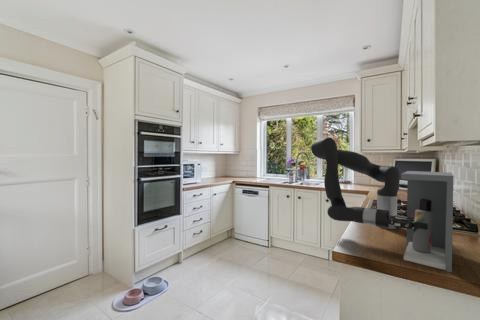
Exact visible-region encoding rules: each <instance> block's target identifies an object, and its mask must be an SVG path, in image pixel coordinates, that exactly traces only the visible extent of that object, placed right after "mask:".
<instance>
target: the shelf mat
mask: <svg viewBox="0 0 480 320" xmlns="http://www.w3.org/2000/svg"><path fill="white" fill-rule="evenodd" d="M412 243H413V242H409V243H408V244H407V246H406V248H405V249H406V250H405V251H404V253H403V261H406V262H407V261H408V262H412V263H416V264H419V265H422V266H427V267H432V268H435V269H439V270H443V271H446V263H445V249H443V248H438V247H433V246H431V252H422V251H418V250H415V249H413V248H412Z"/></svg>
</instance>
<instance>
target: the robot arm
mask: <svg viewBox="0 0 480 320" xmlns="http://www.w3.org/2000/svg"><path fill="white" fill-rule="evenodd" d="M310 151H311V153H312V155H313V156H315V157H316V158H317V159H322V160H325V162H326V169H325V174H324V179H323V182H324V183H323V185H324V190H325V194H326V198H327V199H328V200H329V201H330V204H331V205H330V206H329V207H328V208H327V215H328V217H329V218H331V219H332V220H334V221H337V222H338V221H339V222H353V223H359V224H363V225H367V226H372V227H377V228H382V229H387V230H394V229H406V230H407V229H412V228H420V229H425V230H427V229H428V224H426V223H420V222H414V220H415V219H414V218H410V217H407V215H406V216H405V215H401V214H399V215H398V192H399V190H400V180H401V176H400V175H401V173H400V170H399V168H397V166H393V165H379V164H376V163H373V162H371V161H370V160H369V159H368V157H366V156H365V155H363V154H360V153H358V152H355V151H352V150H345V149H338V145H337V143H336V141H335V139H333V138H332V137H324V138H321V139H319V140H316V141H315V142H313V143H312V144H311V147H310ZM339 165H340V166H341V167H344V168H346V169H348V170H351V171H353V172H356V173H360V174H363V175H366V176H368V177H370V178H371V179H373V180H375V181H377V182H380V183H384V186H383V187H382V188H379V189H377V191H376V208H373V207H363V206H362V207H361V206H350V207H349V206H347V203H346V202H345V200H344V196H343V194H342V188H341V183H340V177H339ZM409 220H411V221H409Z"/></svg>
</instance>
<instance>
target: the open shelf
mask: <svg viewBox="0 0 480 320" xmlns="http://www.w3.org/2000/svg"><path fill="white" fill-rule="evenodd" d="M400 175H401V176H400V180H407V186H406V187H407V188H406V189H407V190H406V192H407V193H406V195H407V196H406V217H410V218H414V219H415V210H419V209H418V207H419V199H429V200H431V201H432V205H431V211H430V212H433V213H434V219H433V231H432V243H431V246H433V247H438V248H443V249H445V263H446V270H445V272H447V273H453V272H452V271H453V270H452V269H453V227H454V225H453V224H454V222H453V221H454V220H453V218H454V214H453V213H454V179H455V178H454V174H453V173H452V172H447V171H442V172H441V171H419V170H415V171H414V170H407V171H405V172H402V173H400ZM409 221H411V220H409ZM413 232H414V228H412V229H406V245H408V243H409V242H413Z"/></svg>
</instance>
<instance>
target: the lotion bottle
mask: <svg viewBox="0 0 480 320" xmlns="http://www.w3.org/2000/svg"><path fill="white" fill-rule="evenodd" d="M431 205H432V201H431V200H429V199H419V207H418V209H419V210H415V220H414V222H420V223H426V224H428V229H427V230H425V229H420V228H414V232H413V243H412V248H413V249H415V250H418V251H422V252H431V243H432V231H433V219H434V213H433V212H430V211H431Z"/></svg>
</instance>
